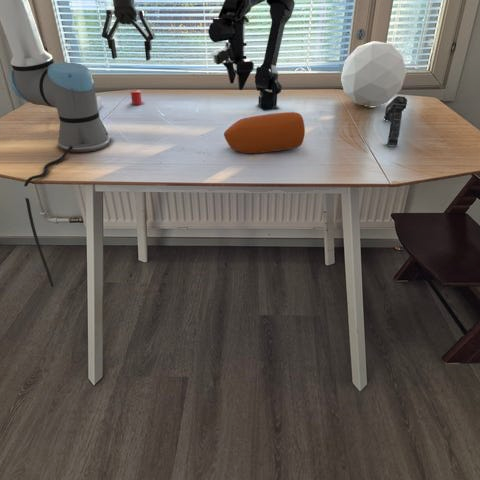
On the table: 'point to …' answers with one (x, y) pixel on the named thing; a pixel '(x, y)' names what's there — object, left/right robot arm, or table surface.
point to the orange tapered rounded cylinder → (266, 133)
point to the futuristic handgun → (395, 118)
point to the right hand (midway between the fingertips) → (236, 86)
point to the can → (136, 97)
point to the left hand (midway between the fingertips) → (131, 59)
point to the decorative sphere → (373, 74)
